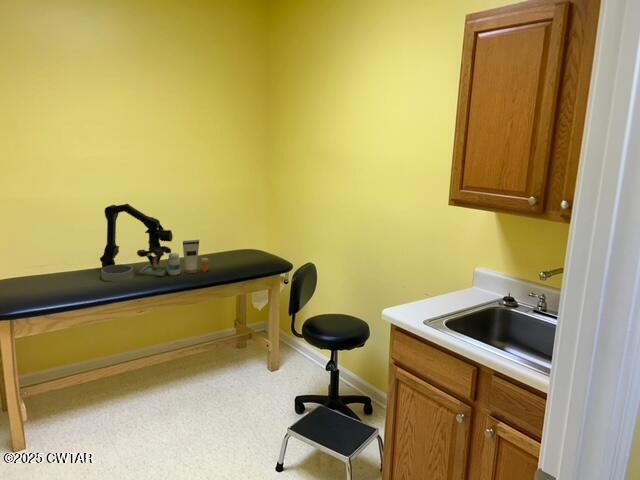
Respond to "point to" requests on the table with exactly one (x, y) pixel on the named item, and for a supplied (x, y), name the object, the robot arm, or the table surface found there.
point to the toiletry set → (186, 259)
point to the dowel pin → (154, 263)
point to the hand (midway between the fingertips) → (154, 265)
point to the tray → (159, 272)
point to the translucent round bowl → (117, 273)
